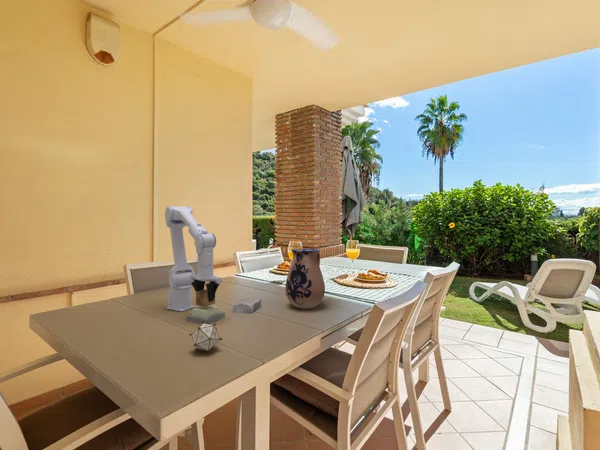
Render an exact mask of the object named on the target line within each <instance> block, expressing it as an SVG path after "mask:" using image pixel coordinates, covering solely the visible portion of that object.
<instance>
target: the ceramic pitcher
mask: <svg viewBox="0 0 600 450" xmlns="http://www.w3.org/2000/svg"><path fill="white" fill-rule="evenodd" d="M320 251H321V250H320V249H318V248H294V249H291V253H292V260H291V263H290V266H289V269H288V273H287V277H286V280H285V289H284V290H285V295H286V297H287V299H288V301H289V303H290V304H291V305H292V306H294V307H295V308H297V309H298V308H299V309H301V310H302V309H303V310H305V309H307V310H308V309H314V308H316V307H317V306H318V305H319V304H321V302H322V300H323V298H324V297H325V293H326V286H325V281H324V280H325V279H324V276H323V274H322V270H321V267H320V265H321V254H320Z"/></svg>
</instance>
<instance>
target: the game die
mask: <svg viewBox="0 0 600 450" xmlns="http://www.w3.org/2000/svg"><path fill="white" fill-rule="evenodd" d="M216 325H217V323H216V322H214V324H211V323H210V324H205V323H204V321H202V324H199V326H197V328H196V329H195V330H194V331H193V332H192V333H188V335H189V336H191V339H192V340H193V342H194V344H193V346H192V347H195V348H194V351H197V350H201V351H207V354H208V355H209V354H210V351H211V349H212V348H213V347H214V346H215V345H216V344H217V343H218V342H219V341H222V340H223V338H221V337H220V336H219V335H220V334H219V332H218V331H217V329H218V328H217V327H216Z"/></svg>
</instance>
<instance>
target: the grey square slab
mask: <svg viewBox="0 0 600 450" xmlns="http://www.w3.org/2000/svg"><path fill="white" fill-rule="evenodd" d="M225 315H226V312H224V311H220V310H219V313H218V314H215V315H213V316H210V317H208V318H202V317H197V316H192V313H190V314H188V315H186V317H185V318H186V319H185V321H186V322H189V323H194V324H199V325H202V321H204V323H205V324H210V325H211V323H216V321H219V320H221V319H224V318H225Z"/></svg>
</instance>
